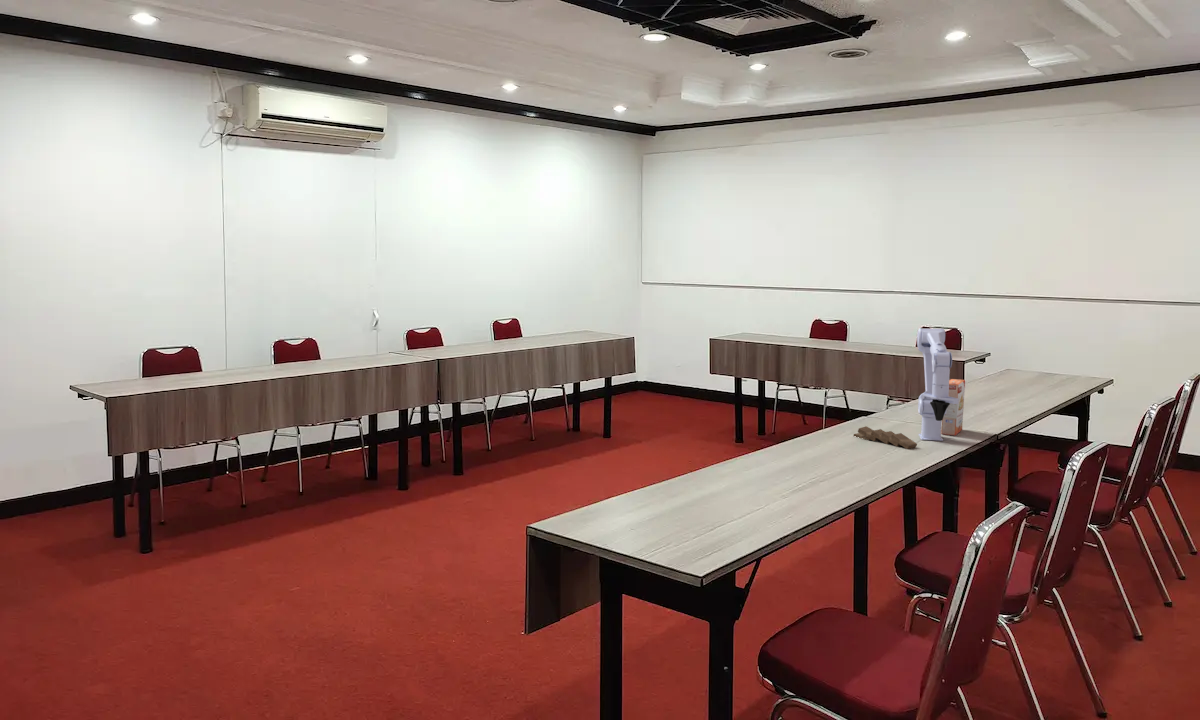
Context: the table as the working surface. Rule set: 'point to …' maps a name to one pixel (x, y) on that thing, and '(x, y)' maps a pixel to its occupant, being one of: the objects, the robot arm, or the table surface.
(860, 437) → the domino
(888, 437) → the domino
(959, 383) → the cracker box
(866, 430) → the domino
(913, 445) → the domino
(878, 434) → the domino
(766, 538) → the table surface
